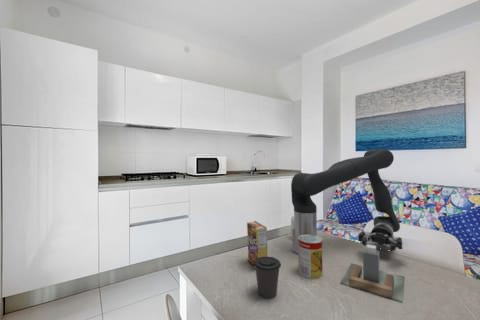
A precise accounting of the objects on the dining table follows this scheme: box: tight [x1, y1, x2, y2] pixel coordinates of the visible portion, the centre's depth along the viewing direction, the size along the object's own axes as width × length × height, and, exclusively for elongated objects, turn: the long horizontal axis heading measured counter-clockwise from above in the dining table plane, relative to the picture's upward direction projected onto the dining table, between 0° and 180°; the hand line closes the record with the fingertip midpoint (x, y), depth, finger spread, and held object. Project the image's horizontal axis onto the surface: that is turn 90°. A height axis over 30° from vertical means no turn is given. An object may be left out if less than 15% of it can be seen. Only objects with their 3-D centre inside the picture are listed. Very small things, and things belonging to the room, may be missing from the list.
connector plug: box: [362, 243, 381, 283], centre depth 71 cm, size 4×4×12 cm
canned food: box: [298, 235, 323, 280], centre depth 79 cm, size 8×8×12 cm
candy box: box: [246, 220, 269, 266], centre depth 85 cm, size 9×4×15 cm, turn 23°
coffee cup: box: [253, 256, 282, 300], centre depth 67 cm, size 8×8×10 cm
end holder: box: [339, 263, 405, 303], centre depth 73 cm, size 16×16×2 cm
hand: (377, 245), depth 83 cm, fingers open, 8 cm apart
